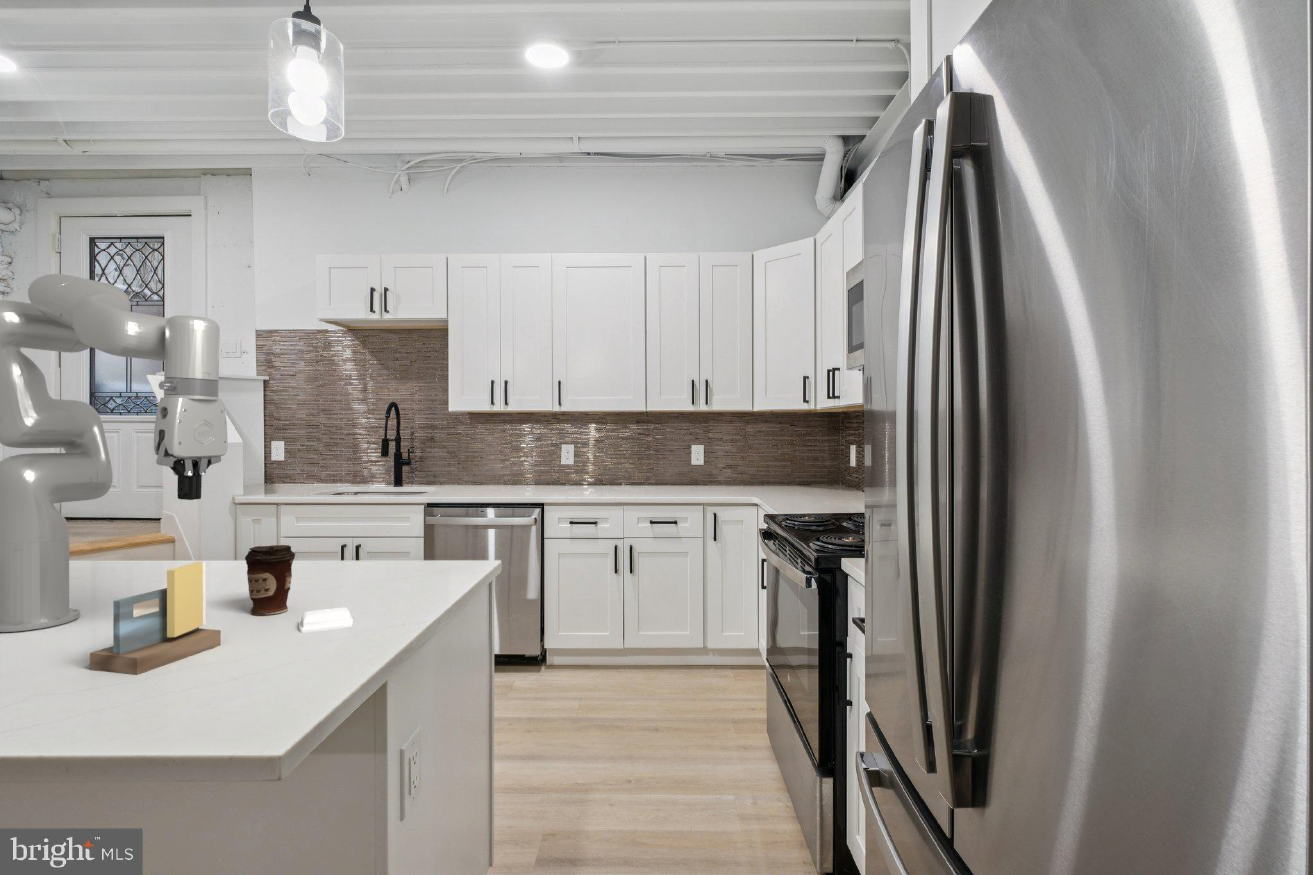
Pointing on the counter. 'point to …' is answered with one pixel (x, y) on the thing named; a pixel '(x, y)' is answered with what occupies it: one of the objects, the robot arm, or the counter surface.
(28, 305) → the robot arm
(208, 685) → the counter surface
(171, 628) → the yellow flat slab
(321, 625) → the soap
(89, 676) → the counter surface
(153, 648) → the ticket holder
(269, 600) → the coffee cup
